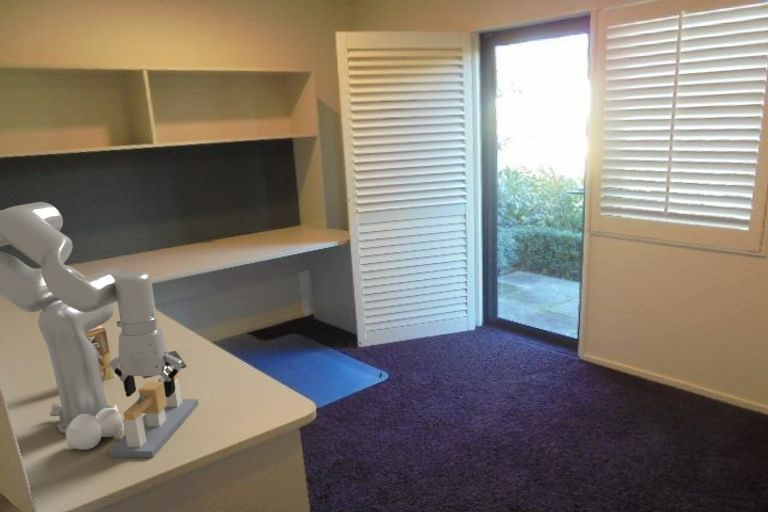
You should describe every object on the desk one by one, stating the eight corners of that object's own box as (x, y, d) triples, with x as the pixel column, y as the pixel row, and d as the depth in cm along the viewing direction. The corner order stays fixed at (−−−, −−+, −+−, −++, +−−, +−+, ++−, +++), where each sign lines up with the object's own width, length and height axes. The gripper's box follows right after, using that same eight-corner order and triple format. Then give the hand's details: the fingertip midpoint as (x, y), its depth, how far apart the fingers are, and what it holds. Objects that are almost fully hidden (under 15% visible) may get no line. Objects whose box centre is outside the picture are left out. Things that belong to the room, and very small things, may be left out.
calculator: (175, 349, 178) (186, 365, 165) (175, 352, 178) (186, 368, 166) (136, 359, 172) (144, 376, 159) (136, 362, 172) (145, 379, 160)
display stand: (110, 456, 121) (103, 424, 119) (161, 404, 144) (157, 376, 142) (153, 457, 120) (147, 424, 118) (198, 404, 142) (194, 375, 140)
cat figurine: (115, 393, 130) (61, 413, 121) (138, 426, 126) (84, 450, 117) (109, 416, 135) (57, 437, 126) (131, 449, 131) (79, 473, 121)
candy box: (109, 373, 164) (100, 324, 161) (115, 377, 161) (105, 327, 158) (77, 384, 158) (67, 334, 154) (82, 388, 155) (72, 337, 152)
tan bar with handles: (123, 432, 122) (118, 407, 120) (167, 388, 141) (164, 367, 139) (140, 432, 121) (136, 407, 120) (182, 388, 140) (179, 367, 139)
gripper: (94, 331, 123) (106, 401, 127) (168, 332, 121) (178, 402, 125) (113, 319, 130) (125, 386, 134) (183, 319, 128) (193, 387, 132)
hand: (150, 394), depth 130 cm, fingers open, 9 cm apart
